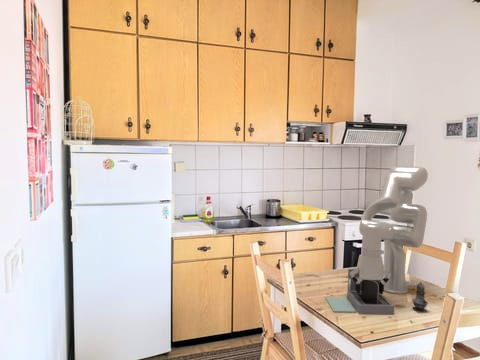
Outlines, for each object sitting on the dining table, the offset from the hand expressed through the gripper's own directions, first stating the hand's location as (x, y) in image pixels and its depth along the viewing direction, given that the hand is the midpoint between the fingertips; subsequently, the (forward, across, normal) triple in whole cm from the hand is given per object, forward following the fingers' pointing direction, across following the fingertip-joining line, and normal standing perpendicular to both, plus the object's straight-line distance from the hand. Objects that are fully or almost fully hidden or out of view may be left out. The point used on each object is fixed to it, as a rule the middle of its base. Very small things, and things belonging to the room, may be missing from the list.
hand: (369, 292), depth 150 cm
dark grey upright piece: (+6, -20, +2) cm, 21 cm away
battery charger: (+6, -1, 0) cm, 6 cm away
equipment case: (+6, 0, 0) cm, 6 cm away
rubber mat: (+6, +12, 0) cm, 14 cm away
